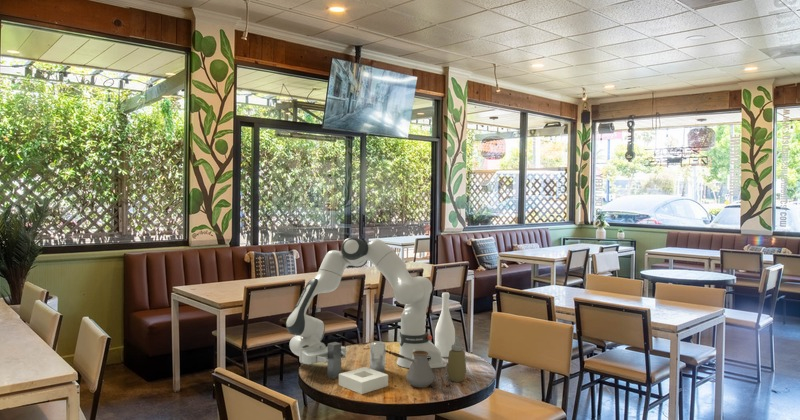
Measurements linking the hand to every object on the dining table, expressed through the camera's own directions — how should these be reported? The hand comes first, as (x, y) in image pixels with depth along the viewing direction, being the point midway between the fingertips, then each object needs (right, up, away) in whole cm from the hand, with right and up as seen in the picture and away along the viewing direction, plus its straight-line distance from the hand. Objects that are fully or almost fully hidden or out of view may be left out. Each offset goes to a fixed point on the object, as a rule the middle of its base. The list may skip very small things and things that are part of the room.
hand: (335, 358), depth 234 cm
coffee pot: (+30, -9, -8) cm, 32 cm away
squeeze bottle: (+50, -9, -1) cm, 51 cm away
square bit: (-1, -8, +1) cm, 8 cm away
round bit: (+17, -8, +10) cm, 21 cm away
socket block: (+12, -8, -9) cm, 17 cm away
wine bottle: (+48, -8, +35) cm, 60 cm away
